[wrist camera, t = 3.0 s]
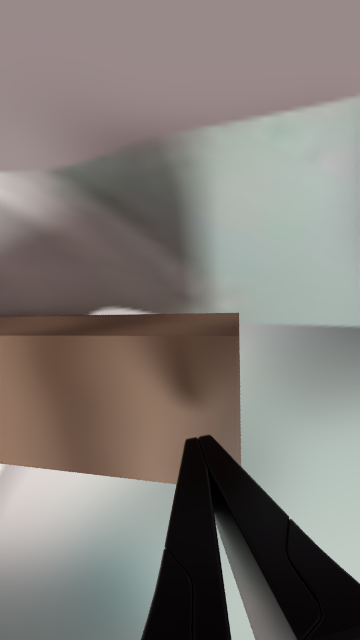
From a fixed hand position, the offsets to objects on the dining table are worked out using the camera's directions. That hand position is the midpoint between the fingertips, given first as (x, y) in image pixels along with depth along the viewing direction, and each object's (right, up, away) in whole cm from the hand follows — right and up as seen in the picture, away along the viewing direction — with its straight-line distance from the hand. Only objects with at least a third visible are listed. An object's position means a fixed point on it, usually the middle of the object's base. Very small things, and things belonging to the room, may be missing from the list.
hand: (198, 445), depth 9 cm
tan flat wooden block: (-4, +1, +4) cm, 5 cm away
